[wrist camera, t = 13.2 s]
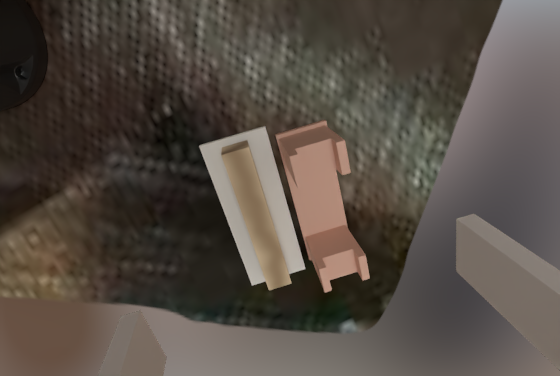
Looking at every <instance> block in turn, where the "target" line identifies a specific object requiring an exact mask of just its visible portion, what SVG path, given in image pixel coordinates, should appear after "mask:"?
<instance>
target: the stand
mask: <svg viewBox="0 0 560 376" xmlns="http://www.w3.org/2000/svg"><path fill="white" fill-rule="evenodd" d="M275 136H276V140H277V143H278V147H279V151H280V154H281V158H282V162H283V165H284V169H285V173H286V176H287V180H288V184H289V187H290V191H291V195H292V198H293V202H294V206H295V209H296V213H297V217H298V220H299V224H300V228H301V231H302V235H303V239H304V242H305V246H306V250H307V253H308V257H309V260H312V261H313V264H314V266H315V269H316V271H317V274H318V276H319V279H320V281H321V284H322V286H323V289H324V291H325V292H328V291H331V290H332V288H331V284H330V280H332V279H335V278H338V277H342V276H345V275H348V274H351V273H354V272H358V273H359V275H360V277H361V278H362V280H367V279H370V276H369V271H368V265H367V260H366V255H365V253H364V252H363V250H362V249H361V247H360V246H359V245H358V243H357V242H356V240H355V239H354V237H353V236H352V234H351V233H350V231H349V230H348V227H347V222H346V217H345V212H344V207H343V202H342V197H341V192H340V187H339V182H338V177H337V172H336V170H338V171H339V172H340V173H341V174H342V175H345V174H348V173H351V172H350V166H349V161H348V155H347V150H346V144H345V140H344V139H343V138H341V137H340V136H339V135H337V134H336V133H335V132H333V131H332V130H331V129H329V128H328V127H327V122H326V120H322V121H318V122H315V123H312V124H308V125H305V126H301V127H298V128H295V129H291V130H288V131H285V132H281V133H278V134H275Z"/></svg>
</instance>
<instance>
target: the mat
mask: <svg viewBox="0 0 560 376" xmlns="http://www.w3.org/2000/svg"><path fill="white" fill-rule="evenodd" d="M245 140H247V141H248V144H249V147H250V150H251V153H252V157H253V160H254V163H255V166H256V169H257V173H258V176H259V179H260V182H261V185H262V189H263V192H264V195H265V198H266V201H267V205H268V208H269V211H270V214H271V217H272V221H273V224H274V227H275V230H276V233H277V237H278V240H279V243H280V246H281V249H282V253H283V256H284V259H285V262H286V265H287V269H288V272H289V274H291V273H294V272H297V271H300V270H304V269H305V265H304V262H303V258H302V254H301V251H300V247H299V244H298V240H297V237H296V233H295V230H294V226H293V223H292V219H291V216H290V212H289V209H288V205H287V202H286V198H285V194H284V191H283V187H282V184H281V180H280V177H279V173H278V170H277V166H276V163H275V159H274V156H273V152H272V149H271V145H270V141H269V138H268V134H267V131H266V127H265V126H262V127H259V128H256V129H252V130H249V131H245V132H242V133H239V134H235V135H232V136H228V137H225V138H222V139H218V140H215V141H211V142H208V143H205V144H201V145H199V147H200V150H201V153H202V155H203V158H204V161H205V163H206V166H207V168H208V171H209V174H210V176H211V179H212V182H213V184H214V187H215V189H216V192H217V195H218V197H219V200H220V203H221V205H222V208H223V211H224V213H225V216H226V218H227V221H228V224H229V226H230V229H231V232H232V234H233V237H234V239H235V242H236V245H237V247H238V250H239V253H240V255H241V258H242V260H243V263H244V266H245V268H246V271H247V274H248V276H249V279H250V281H251V284H252V285H255V284H258V283H262V282H265V281H266V280H265V277H264V275H263V272H262V269H261V266H260V263H259V260H258V258H257V255H256V252H255V249H254V246H253V243H252V241H251V238H250V235H249V232H248V229H247V227H246V224H245V221H244V218H243V215H242V212H241V210H240V207H239V204H238V201H237V198H236V196H235V193H234V190H233V187H232V184H231V181H230V179H229V176H228V173H227V170H226V167H225V165H224V162H223V159H222V156H221V151H222V147H225V146H228V145H232V144H235V143H239V142H242V141H245Z"/></svg>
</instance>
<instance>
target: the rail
mask: <svg viewBox="0 0 560 376" xmlns="http://www.w3.org/2000/svg"><path fill="white" fill-rule="evenodd" d="M221 156H222V159H223V162H224V165H225V167H226V170H227V173H228V176H229V179H230V181H231V184H232V187H233V190H234V193H235V196H236V198H237V201H238V204H239V207H240V210H241V212H242V215H243V218H244V221H245V224H246V227H247V229H248V232H249V235H250V238H251V241H252V243H253V246H254V249H255V252H256V255H257V258H258V260H259V263H260V266H261V269H262V272H263V275H264V277H265V280H266V283H267V286H268V289H269V290H272V289H275V288H279V287H282V286H285V285H288V284H291V280H290V276H289V272H288V269H287V265H286V262H285V259H284V256H283V253H282V249H281V246H280V243H279V240H278V237H277V233H276V230H275V227H274V224H273V221H272V217H271V214H270V211H269V208H268V205H267V201H266V198H265V195H264V192H263V189H262V185H261V182H260V179H259V176H258V173H257V169H256V166H255V163H254V160H253V157H252V153H251V150H250V147H249V144H248V141H247V140H245V141H242V142H239V143H235V144H232V145H228V146H225V147H222V151H221Z"/></svg>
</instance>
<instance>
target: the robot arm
mask: <svg viewBox="0 0 560 376" xmlns="http://www.w3.org/2000/svg"><path fill="white" fill-rule="evenodd" d="M46 68H47V47H46V42H45V38H44V35H43V31H42V29H41V26H40V24H39V22H38V20H37V18H36V16H35V14H34V13H33V11H32V10H31V8H30V7H29V5H28V4H27V3H26V1H25V0H0V111H1V110H5V109H9V108H12V107H15V106H18V105H20V104H22V103H23V102H25V101H26V100H28V99H29V98H30V97H31V96H32V95H33V94H34V93H35V92H36V91H37V90H38V88H39V87H40V85H41V83H42V81H43V79H44V76H45V73H46ZM456 271H457V272H458V273H459V274H460V275H461V276H462V277H463V278H464V279H465V280H466V281H467V282H468V283H469V284H470V285H471V286H472V287H473V288H474V289H475V290H476V291H477V292H478V293H480V294H481V295H482V296H483V297H484V298H485V299H486V300H487V301H488V302H489V303H490V304H491V305H492V306H493V307H494V308H495V309H496V310H497V311H498V312H499V313H500V314H501V315H502V316H503V317H504V318H505V319H506V320H508V321H509V322H510V323H511V324H512V325H513V326H514V327H515V328H516V329H517V330H518V331H519V332H520V333H521V334H522V335H523V336H524V337H525V338H526V339H527V340H528V341H529V342H530V343H531V344H532V345H534V346H535V347H536V348H537V349H538V350H539V351H540V352H541V353H542V354H543V355H544V356H545V357H546V358H547V359H548V360H549V361H550V362H551V363H552V364H553V365H554V366H555V367H557V369H558V370H560V271H559V270H558V269H556V268H555V267H553V266H552V265H550V264H549V263H547V262H546V261H544V260H543V259H541V258H540V257H538V256H537V255H535V254H534V253H532V252H531V251H529V250H527V249H526V248H525V247H523V246H522V245H520V244H519V243H517V242H516V241H514V240H513V239H511V238H510V237H508V236H507V235H505V234H504V233H502V232H501V231H499V230H498V229H496V228H495V227H493V226H492V225H490V224H489V223H487V222H486V221H484V220H483V219H481V218H480V217H478V216H477V215H475V214H471V215H468V216H465V217H461V218H457V221H456ZM165 363H166V355H165V354H164V352H163V350H162V348H161V346H160V345H159V343H158V341H157V339H156V338H155V336H154V334H153V332H152V330H151V329H150V327H149V325H148V323H147V321H146V320H145V318H144V316H143V315H142V312H141V311H137V312H134V313H130V314H126V315H123V316H121V317H120V320H119V322H118V325H117V327H116V330H115V333H114V335H113V338H112V341H111V343H110V345H109V348H108V351H107V353H106V356H105V358H104V361H103V363H102V366H101V369H100V371H99V374H98V376H163V374H164V368H165Z"/></svg>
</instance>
